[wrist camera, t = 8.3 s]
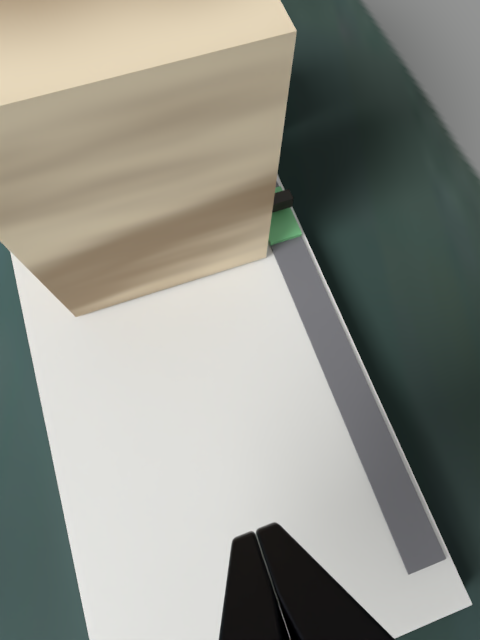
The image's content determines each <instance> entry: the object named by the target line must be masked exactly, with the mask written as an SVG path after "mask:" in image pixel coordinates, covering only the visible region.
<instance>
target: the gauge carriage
mask: <svg viewBox="0 0 480 640" xmlns="http://www.w3.org/2000/svg"><path fill="white" fill-rule="evenodd" d="M296 32H297V31H296V29H295V27H294V25H293V23H292V21H291V19H290V18H289V16H288V14H287V12H286V10H285V8H284V6H283V5H282V3H281V1H280V0H0V241H1V242H2V243H3V244H4V245H5V246H6V247H7V248H8V249H9V250H10V251H11V252H12V253H13V254H14V255H15V256H16V257H17V258H18V260H19V261H20V262H21V263H22V264H23V265H24V266H25V267H26V268H27V269H28V270H29V271H30V272H31V273H32V274H33V275H34V276H35V277H36V278H37V279H38V280H39V281H40V282H41V283H42V284H43V285H44V286H45V287H46V288H47V289H48V290H49V291H50V292H51V293H52V294H53V295H54V296H55V297H56V298H57V299H58V300H59V301H60V302H61V303H62V304H63V305H64V306H65V307H66V308H67V309H68V310H69V311H70V312H71V313H72V314H73V315H74V316H75V317H78V316H81V315H84V314H87V313H91V312H94V311H97V310H100V309H103V308H106V307H110V306H113V305H116V304H119V303H122V302H126V301H129V300H132V299H135V298H138V297H142V296H145V295H148V294H151V293H154V292H157V291H161V290H164V289H167V288H170V287H173V286H177V285H180V284H183V283H186V282H189V281H193V280H196V279H199V278H202V277H205V276H208V275H212V274H215V273H218V272H221V271H224V270H228V269H231V268H234V267H237V266H240V265H244V264H247V263H250V262H253V261H256V260H259V259H263V258H266V254H267V247H268V240H269V232H270V225H271V217H272V213H273V212H276V211H280V210H283V209H286V208H290V207H292V203H293V196H292V194H291V192H290V190H289V189H287V190H284V191H280V192H277V193H275V188H276V180H277V173H278V165H279V158H280V151H281V143H282V136H283V128H284V121H285V113H286V106H287V99H288V91H289V84H290V76H291V69H292V62H293V54H294V47H295V39H296Z"/></svg>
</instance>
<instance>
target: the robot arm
mask: <svg viewBox="0 0 480 640" xmlns="http://www.w3.org/2000/svg"><path fill="white" fill-rule="evenodd" d="M256 536H257V537H256ZM257 539H258V540H257ZM258 542H259V543H258ZM259 545H260V546H259ZM260 548H261V549H260ZM261 551H262V552H261ZM262 554H263V555H262ZM263 557H264V558H263ZM264 560H265V561H264ZM265 563H266V564H265ZM266 566H267V567H266ZM267 569H268V570H267ZM281 612H282V613H281ZM282 615H283V616H282ZM283 618H284V619H283ZM284 621H285V622H284ZM285 624H286V625H285ZM286 627H287V628H286ZM287 630H288V631H287ZM288 633H289V634H288ZM289 636H290V637H289ZM290 639H291V640H395V639H394V638H393V637H392V636H391V635H390V634H389V633H388V632H387V631H386V630H385V629H384V628H383V627H382V626H381V625H380V624H379V623H378V622H377V621H376V620H375V619H374V618H373V617H372V616H371V615H370V614H369V613H368V612H367V611H366V610H365V609H364V608H363V607H362V606H361V605H360V604H359V603H358V602H357V601H356V600H355V599H354V598H353V597H352V596H351V595H350V594H349V593H348V592H347V591H346V590H345V589H344V588H343V587H342V586H341V585H340V584H339V583H338V582H337V581H336V580H335V579H334V578H333V577H332V576H331V575H330V574H329V573H328V572H327V571H326V570H325V569H324V568H323V567H322V566H321V565H320V564H319V563H318V562H317V561H316V560H315V559H314V558H313V557H312V556H311V555H310V554H309V553H308V552H307V551H306V550H305V549H304V548H303V547H302V546H301V545H300V544H299V543H298V542H297V541H296V540H295V539H294V538H293V537H292V536H291V535H290V534H289V533H288V532H287V531H286V530H285V529H284V528H283V527H282V526H281V525H280V524H278V523H276V522H273V523H270V524H268V525H265V526H262V527H260V528H258V529H257V530H256V534H255V533H254V532H253V531H249V532H247V533H244V534H242V535H239V536H237V537H235V538H234V539H233V540H232V544H231V551H230V558H229V566H228V573H227V581H226V588H225V596H224V603H223V611H222V618H221V626H220V633H219V640H290Z"/></svg>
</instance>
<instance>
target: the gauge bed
mask: <svg viewBox="0 0 480 640" xmlns="http://www.w3.org/2000/svg"><path fill="white" fill-rule="evenodd" d="M280 191H284V187H283V185H282V183H281V181H280V179H279V176H278V174H277V180H276V188H275V193H277V192H280ZM10 252H11V251H10ZM11 257H12V262H13V267H14V272H15V277H16V282H17V287H18V292H19V297H20V301H21V306H22V311H23V316H24V321H25V326H26V331H27V336H28V341H29V345H30V350H31V355H32V360H33V365H34V370H35V375H36V380H37V385H38V390H39V394H40V399H41V404H42V409H43V414H44V419H45V424H46V429H47V434H48V438H49V443H50V448H51V453H52V458H53V463H54V468H55V473H56V478H57V483H58V487H59V492H60V497H61V502H62V507H63V512H64V517H65V522H66V527H67V531H68V536H69V541H70V546H71V551H72V556H73V561H74V566H75V571H76V576H77V580H78V585H79V590H80V595H81V600H82V605H83V610H84V615H85V620H86V625H87V629H88V634H89V639H90V640H219V633H220V626H221V618H222V611H223V603H224V596H225V588H226V581H227V573H228V566H229V558H230V551H231V544H232V540H233V539H234V538H235V537H237V536H239V535H242V534H244V533H247V532H249V531H253V532H254V533H255V534H256V530H257V529H258V528H260V527H262V526H265V525H268V524H270V523H273V522H276V523H278V524H280V525H281V526H282V527H283V528H284V529H285V530H286V531H287V532H288V533H289V534H290V535H291V536H292V537H293V538H294V539H295V540H296V541H297V542H298V543H299V544H300V545H301V546H302V547H303V548H304V549H305V550H306V551H307V552H308V553H309V554H310V555H311V556H312V557H313V558H314V559H315V560H316V561H317V562H318V563H319V564H320V565H321V566H322V567H323V568H324V569H325V570H326V571H327V572H328V573H329V574H330V575H331V576H332V577H333V578H334V579H335V580H336V581H337V582H338V583H339V584H340V585H341V586H342V587H343V588H344V589H345V590H346V591H347V592H348V593H349V594H350V595H351V596H352V597H353V598H354V599H355V600H356V601H357V602H358V603H359V604H360V605H361V606H362V607H363V608H364V609H365V610H366V611H367V612H368V613H369V614H370V615H371V616H372V617H373V618H374V619H375V620H376V621H377V622H378V623H379V624H380V625H381V626H382V627H383V628H384V629H385V630H386V631H387V632H388V633H389V634H390V635H391V636H392V637H393V638H394V639H395V638H397V637H399V636H402V635H404V634H406V633H408V632H411V631H413V630H415V629H418V628H420V627H422V626H424V625H427V624H429V623H431V622H434V621H436V620H438V619H441V618H443V617H445V616H447V615H450V614H452V613H454V612H457V611H459V610H461V609H464V608H466V607H468V606H470V605H472V603H471V600H470V598H469V596H468V594H467V592H466V589H465V587H464V585H463V583H462V581H461V578H460V576H459V574H458V572H457V570H456V567H455V565H454V563H453V561H452V559H451V556H450V554H449V552H448V550H447V547H446V545H445V543H444V541H443V539H442V536H441V534H440V532H439V530H438V528H437V525H436V523H435V521H434V519H433V517H432V514H431V512H430V510H429V508H428V505H427V503H426V501H425V499H424V497H423V494H422V492H421V490H420V488H419V486H418V483H417V481H416V479H415V477H414V475H413V472H412V470H411V468H410V466H409V464H408V461H407V459H406V457H405V455H404V452H403V450H402V448H401V446H400V444H399V441H398V439H397V437H396V435H395V433H394V430H393V428H392V426H391V424H390V422H389V419H388V417H387V415H386V413H385V410H384V408H383V406H382V404H381V402H380V399H379V397H378V395H377V393H376V391H375V388H374V386H373V384H372V382H371V380H370V377H369V375H368V373H367V371H366V369H365V366H364V364H363V362H362V360H361V357H360V355H359V353H358V351H357V349H356V346H355V344H354V342H353V340H352V338H351V335H350V333H349V331H348V329H347V327H346V324H345V322H344V320H343V318H342V315H341V313H340V311H339V309H338V307H337V304H336V302H335V300H334V298H333V296H332V293H331V291H330V289H329V287H328V285H327V282H326V280H325V278H324V276H323V274H322V271H321V269H320V267H319V265H318V262H317V260H316V258H315V256H314V254H313V251H312V249H311V247H310V245H309V243H308V240H307V238H306V236H305V234H304V232H303V229H302V227H301V225H300V223H299V220H298V218H297V216H296V214H295V212H294V209H293V207H290V208H286V209H283V210H280V211H276V212H273V213H272V217H271V225H270V232H269V240H268V247H267V254H266V258H263V259H259V260H256V261H253V262H250V263H247V264H244V265H240V266H237V267H234V268H231V269H228V270H224V271H221V272H218V273H215V274H212V275H208V276H205V277H202V278H199V279H196V280H193V281H189V282H186V283H183V284H180V285H177V286H173V287H170V288H167V289H164V290H161V291H157V292H154V293H151V294H148V295H145V296H142V297H138V298H135V299H132V300H129V301H126V302H122V303H119V304H116V305H113V306H110V307H106V308H103V309H100V310H97V311H94V312H91V313H87V314H84V315H81V316H78V317H75V316H74V315H73V314H72V313H71V312H70V311H69V310H68V309H67V308H66V307H65V306H64V305H63V304H62V303H61V302H60V301H59V300H58V299H57V298H56V297H55V296H54V295H53V294H52V293H51V292H50V291H49V290H48V289H47V288H46V287H45V286H44V285H43V284H42V283H41V282H40V281H39V280H38V279H37V278H36V277H35V276H34V275H33V274H32V273H31V272H30V271H29V270H28V269H27V268H26V267H25V266H24V265H23V264H22V263H21V262H20V261H19V260H18V258H17V257H16V256H15V255H14V254H13V253H12V252H11ZM256 537H257V536H256ZM257 540H258V539H257ZM258 543H259V542H258ZM259 546H260V545H259ZM260 549H261V548H260ZM261 552H262V551H261ZM262 555H263V554H262ZM263 558H264V557H263ZM264 561H265V560H264ZM265 564H266V563H265ZM266 567H267V566H266ZM267 570H268V569H267ZM281 613H282V612H281ZM282 616H283V615H282ZM283 619H284V618H283ZM284 622H285V621H284ZM285 625H286V624H285ZM286 628H287V627H286ZM287 631H288V630H287ZM288 634H289V633H288ZM289 637H290V636H289ZM290 640H291V639H290Z"/></svg>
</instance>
